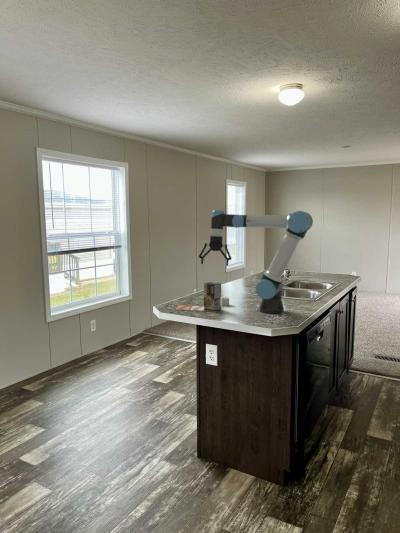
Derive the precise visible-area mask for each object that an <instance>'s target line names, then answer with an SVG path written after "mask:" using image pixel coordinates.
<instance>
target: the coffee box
mask: <svg viewBox="0 0 400 533" xmlns="http://www.w3.org/2000/svg"><path fill="white" fill-rule="evenodd" d="M221 286H222V284H221V283H219V282H212V281H211V282H210V281H209V282H204V283H203V306H204V308H206V309H207V310H209V311H219V309H220V310H221V308H220V307H221V305H220V304H221V297H222V295H221V294H222V290H221V289H222V287H221ZM206 309H205V310H206Z"/></svg>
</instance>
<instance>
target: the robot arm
mask: <svg viewBox="0 0 400 533" xmlns="http://www.w3.org/2000/svg"><path fill="white" fill-rule="evenodd" d="M210 218H211V221H210V233H209V234H210V237H209V243H207V242H205V243H204V246H203V248H202V249H201V251H200V253H199V255H198V258H199V259H200V260H201V261H200V264H201V265H202V270H204V271H205V257H206V256H207V255H209V253H210V252H211V251H213V252H220V253H221V254H222V255H223V257H224V259H225V260H224V272H226V271H227V266H229V261H231V260H232V256H231V254H230V252H229V248H228V244H227V243H225V244H223V236H224V235H223V234H224V227H226V228H238V229H239V228H265V229H266V228H271V229H274V228H277V229H284V230H283V231H284V233H285V234H284V236H283V238H282V240H281V242H280V244H279V247H278V248H277V250H276V252H275V255H274V256H273V259H272V261H271V263H270V265H269V267H268V269H267V270H266V271H264V272H263V274H262V276H261V278H260V280H258V282H256V284H255V293H256V295H257V296H258V297H259V298H261V302H260V304H259V307H258V308H259V309H258V311H259V312H261V313H264V314H273V313H277V314H282V313H281V312H283V313H285V307H284V303H283V300H282V295H283V294H282V293H283V275H284V273H285V270H286V269H287V266H288V264H289V262H290V261H291V258H292V257H293V254H294V252H295V250H296V248H297V246H298V244H299V242H300V241H301V240H303V239H304V238H305V237H306V234H307V232H308V231H310V229H311V228H312V227H313V223H314V222H313V220H314V219H313V217H312V215H311V214H310V213H309V212H306V211H303V210H296V211H293V212H292V213H288V215H283V214H282V215H281V214H280V215H279V214H277V215H275V214H264V215H263V214H232V213H231V214H229V213H225V210H221V209H220V210H218V209H213V210H212V211H211V217H210ZM208 246H209V249H208V250H206V248H207V247H208ZM222 248H224V249H225V251H226V253H225V252H224V251H223V249H222ZM205 250H206V252H205ZM204 252H205V253H204ZM226 254H227V255H226Z"/></svg>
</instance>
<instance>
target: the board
mask: <svg viewBox="0 0 400 533" xmlns="http://www.w3.org/2000/svg"><path fill="white" fill-rule="evenodd" d="M221 307H222V306H220V309H218V310H206V308H204V305H196V304H195V305H194V304H193V305H190V304H177V305H176V306H175V307H174V309H173V310H174V311H181V312H182V311H183V312H185V311H186V312H188V311H189V312H204V313H205V312H208V313H209V312H210V313H220V311H221Z"/></svg>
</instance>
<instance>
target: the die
mask: <svg viewBox="0 0 400 533" xmlns="http://www.w3.org/2000/svg"><path fill="white" fill-rule="evenodd" d="M229 306H230V297H228V296H221V304H220V307H229Z"/></svg>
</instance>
